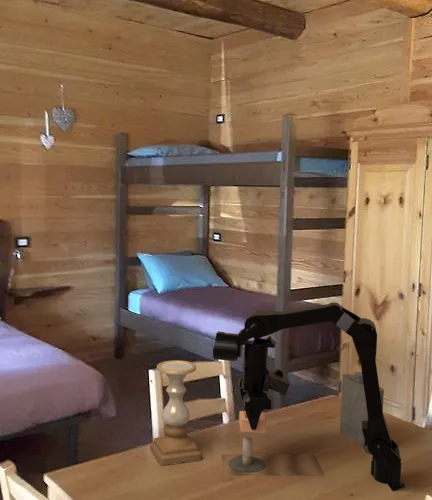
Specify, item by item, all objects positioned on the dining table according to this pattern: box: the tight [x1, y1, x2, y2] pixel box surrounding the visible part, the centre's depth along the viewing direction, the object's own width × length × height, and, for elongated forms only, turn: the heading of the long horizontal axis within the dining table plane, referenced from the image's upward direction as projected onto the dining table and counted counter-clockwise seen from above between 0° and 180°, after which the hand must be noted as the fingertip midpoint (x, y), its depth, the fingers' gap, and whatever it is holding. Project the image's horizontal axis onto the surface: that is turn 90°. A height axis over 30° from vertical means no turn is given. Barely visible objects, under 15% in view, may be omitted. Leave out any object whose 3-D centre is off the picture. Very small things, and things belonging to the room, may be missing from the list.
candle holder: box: [149, 359, 202, 466], centre depth 171 cm, size 11×11×24 cm
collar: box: [238, 410, 267, 433], centre depth 163 cm, size 6×6×3 cm
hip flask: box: [339, 371, 385, 454], centre depth 181 cm, size 16×4×20 cm, turn 26°
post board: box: [221, 436, 325, 477], centre depth 164 cm, size 24×12×8 cm, turn 93°
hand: (252, 424), depth 163 cm, fingers closed on collar, 6 cm apart
